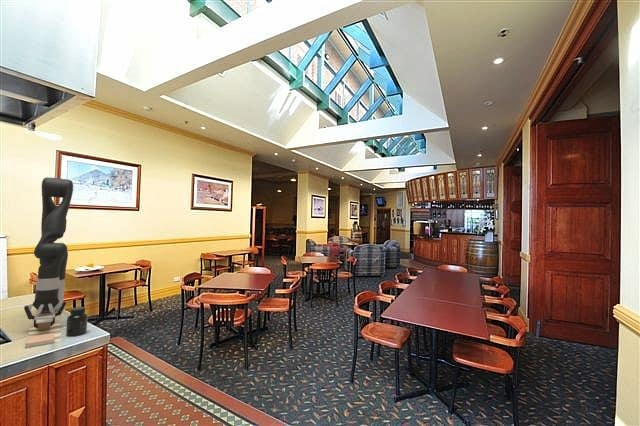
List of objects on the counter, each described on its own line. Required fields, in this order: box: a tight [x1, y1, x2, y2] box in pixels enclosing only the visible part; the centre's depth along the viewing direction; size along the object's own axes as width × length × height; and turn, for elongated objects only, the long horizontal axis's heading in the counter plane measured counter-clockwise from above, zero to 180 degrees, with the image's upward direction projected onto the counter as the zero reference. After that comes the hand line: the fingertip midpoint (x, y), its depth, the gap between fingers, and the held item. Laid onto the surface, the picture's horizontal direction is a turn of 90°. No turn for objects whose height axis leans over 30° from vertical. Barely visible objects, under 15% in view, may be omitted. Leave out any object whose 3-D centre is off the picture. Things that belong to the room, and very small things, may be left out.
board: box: [27, 321, 62, 343], centre depth 120 cm, size 26×10×1 cm, turn 43°
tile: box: [24, 333, 55, 349], centre depth 112 cm, size 2×8×8 cm
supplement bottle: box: [65, 306, 89, 338], centre depth 122 cm, size 7×7×12 cm
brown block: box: [36, 311, 53, 331], centre depth 122 cm, size 11×5×7 cm, turn 43°
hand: (43, 326), depth 124 cm, fingers closed on brown block, 4 cm apart
